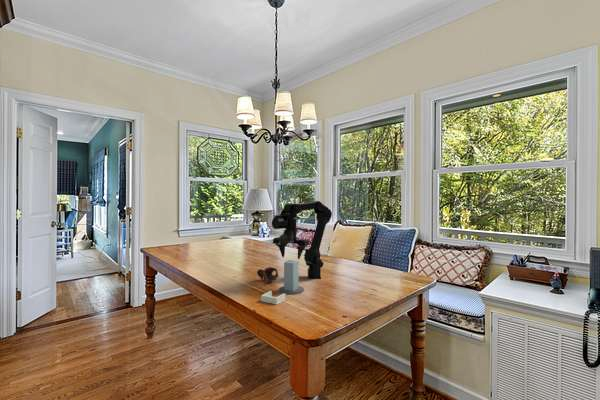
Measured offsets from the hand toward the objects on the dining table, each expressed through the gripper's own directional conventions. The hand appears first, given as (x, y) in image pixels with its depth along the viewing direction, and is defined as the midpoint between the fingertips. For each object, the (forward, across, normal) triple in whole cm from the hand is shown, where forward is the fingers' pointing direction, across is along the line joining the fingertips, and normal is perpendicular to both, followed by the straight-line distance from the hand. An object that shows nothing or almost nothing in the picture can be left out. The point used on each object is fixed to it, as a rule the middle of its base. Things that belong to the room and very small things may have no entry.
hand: (290, 258), depth 148 cm
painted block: (+12, +6, -9) cm, 17 cm away
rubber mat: (+13, +6, -9) cm, 17 cm away
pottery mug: (+13, -13, -2) cm, 19 cm away
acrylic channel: (+13, +6, -24) cm, 28 cm away
